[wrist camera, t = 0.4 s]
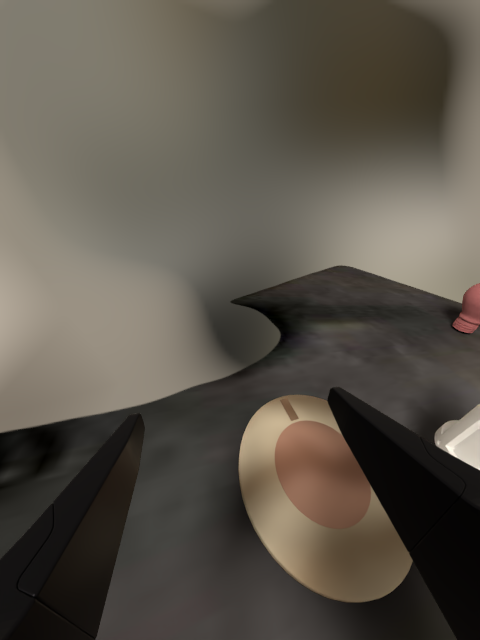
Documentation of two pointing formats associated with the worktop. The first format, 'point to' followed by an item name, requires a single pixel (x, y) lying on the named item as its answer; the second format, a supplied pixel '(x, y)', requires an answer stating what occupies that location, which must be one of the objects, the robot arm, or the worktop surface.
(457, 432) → the strainer
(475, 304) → the light bulb
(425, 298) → the worktop surface
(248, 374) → the worktop surface
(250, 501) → the turntable
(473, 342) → the worktop surface
